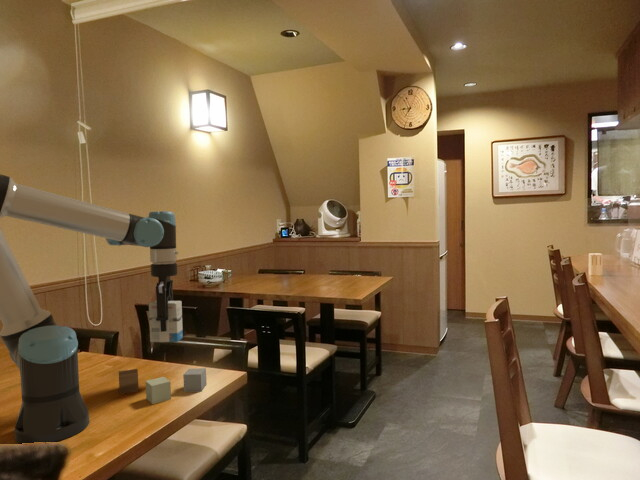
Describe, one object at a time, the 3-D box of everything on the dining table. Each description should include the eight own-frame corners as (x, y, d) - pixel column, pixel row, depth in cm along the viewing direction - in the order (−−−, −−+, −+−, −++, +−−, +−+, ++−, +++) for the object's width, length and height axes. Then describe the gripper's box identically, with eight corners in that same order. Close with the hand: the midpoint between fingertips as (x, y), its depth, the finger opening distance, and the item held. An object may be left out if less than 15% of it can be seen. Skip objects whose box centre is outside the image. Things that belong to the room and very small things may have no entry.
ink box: (183, 338, 140) (182, 300, 140) (177, 342, 135) (175, 303, 135) (156, 337, 141) (155, 300, 140) (149, 342, 136) (148, 303, 135)
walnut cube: (138, 391, 130) (137, 374, 130) (119, 394, 128) (118, 376, 128) (138, 385, 135) (137, 368, 134) (119, 388, 133) (118, 371, 133)
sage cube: (171, 399, 124) (170, 381, 123) (152, 404, 120) (151, 385, 120) (164, 394, 127) (163, 376, 127) (146, 398, 124) (145, 380, 124)
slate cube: (201, 391, 129) (200, 374, 128) (184, 391, 129) (183, 374, 128) (206, 385, 134) (205, 368, 133) (189, 385, 134) (189, 368, 133)
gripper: (171, 265, 128) (174, 346, 129) (181, 259, 147) (184, 330, 148) (143, 266, 127) (146, 348, 128) (157, 260, 146) (160, 332, 147)
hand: (166, 338), depth 138 cm, fingers closed on ink box, 6 cm apart
